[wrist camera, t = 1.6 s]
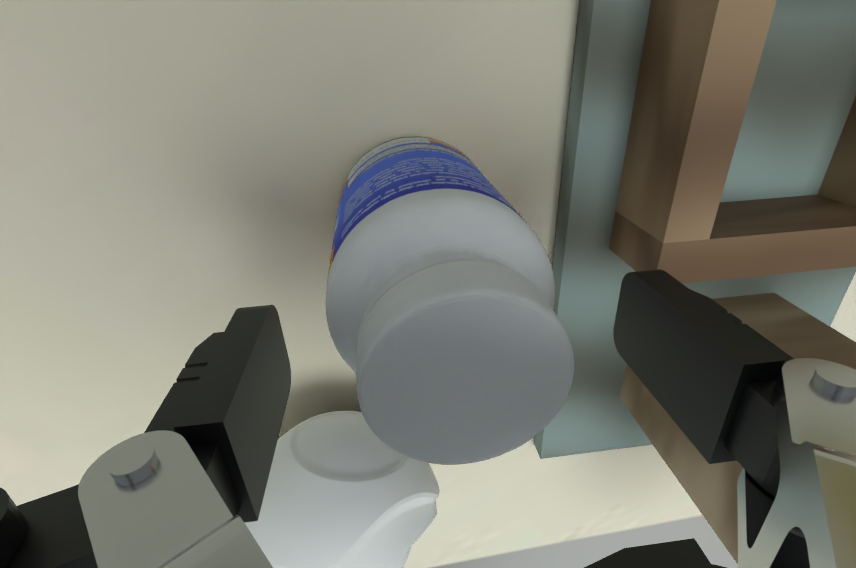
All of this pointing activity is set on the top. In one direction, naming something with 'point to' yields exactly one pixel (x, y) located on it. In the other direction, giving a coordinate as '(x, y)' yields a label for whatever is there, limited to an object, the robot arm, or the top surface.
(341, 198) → the pill bottle
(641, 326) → the robot arm
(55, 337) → the top surface
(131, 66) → the top surface
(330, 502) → the white rounded piece
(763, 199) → the socket board
